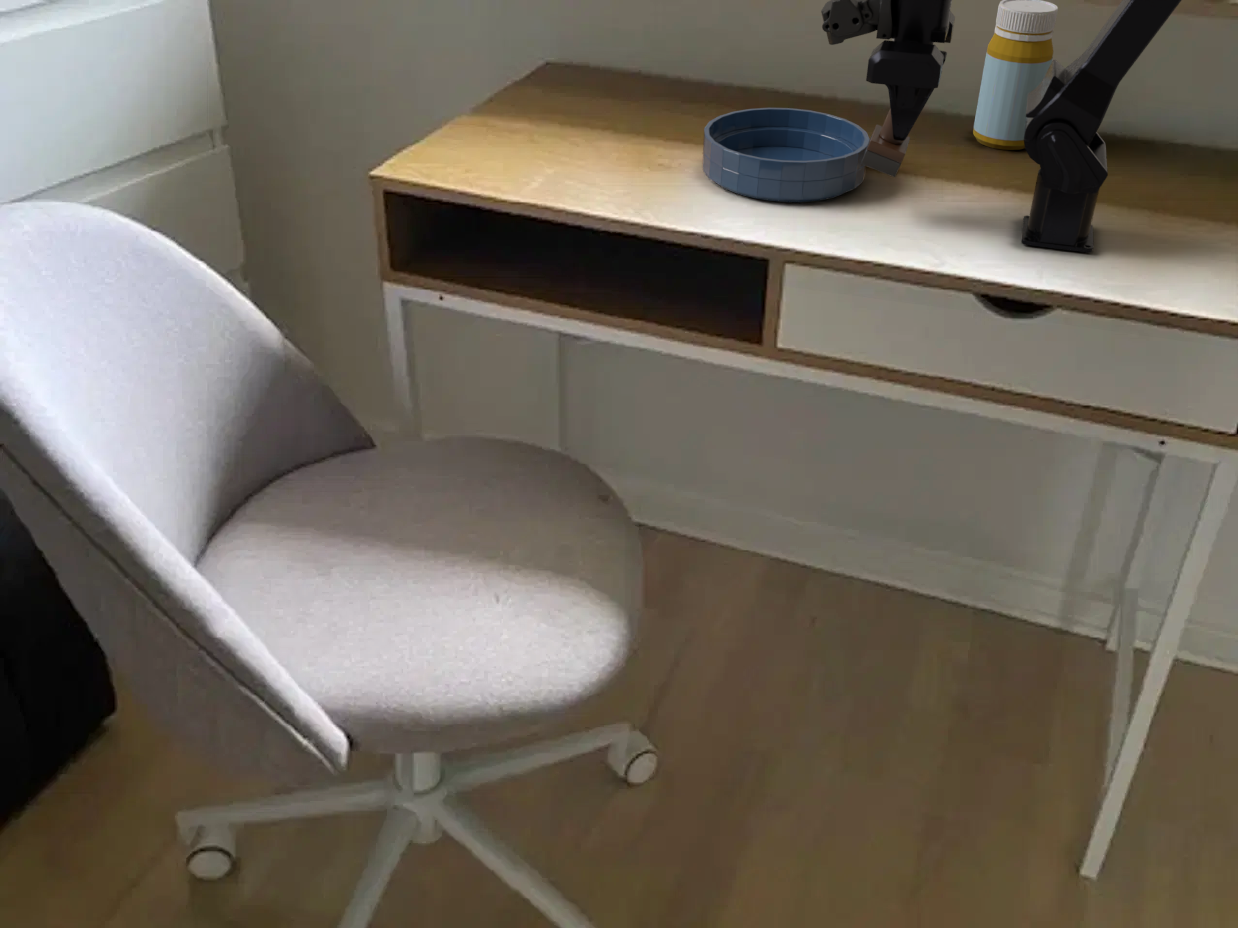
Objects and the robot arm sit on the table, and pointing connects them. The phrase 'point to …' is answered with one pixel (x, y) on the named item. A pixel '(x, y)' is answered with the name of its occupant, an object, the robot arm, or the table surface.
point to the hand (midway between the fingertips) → (900, 135)
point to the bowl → (784, 154)
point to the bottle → (1013, 70)
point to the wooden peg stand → (885, 149)
